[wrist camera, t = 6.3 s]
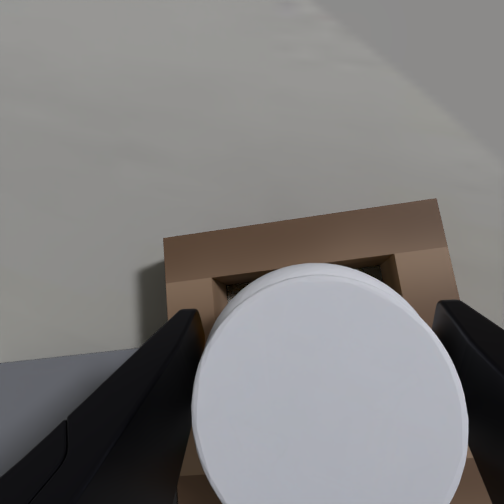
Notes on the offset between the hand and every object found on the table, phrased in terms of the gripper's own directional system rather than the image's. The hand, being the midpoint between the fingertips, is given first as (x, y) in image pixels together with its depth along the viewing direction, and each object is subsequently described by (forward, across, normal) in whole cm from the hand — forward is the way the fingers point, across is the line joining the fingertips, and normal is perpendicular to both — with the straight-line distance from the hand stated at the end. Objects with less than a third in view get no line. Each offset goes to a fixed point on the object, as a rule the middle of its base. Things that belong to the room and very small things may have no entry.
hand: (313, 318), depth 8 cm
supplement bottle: (+4, 0, +6) cm, 7 cm away
